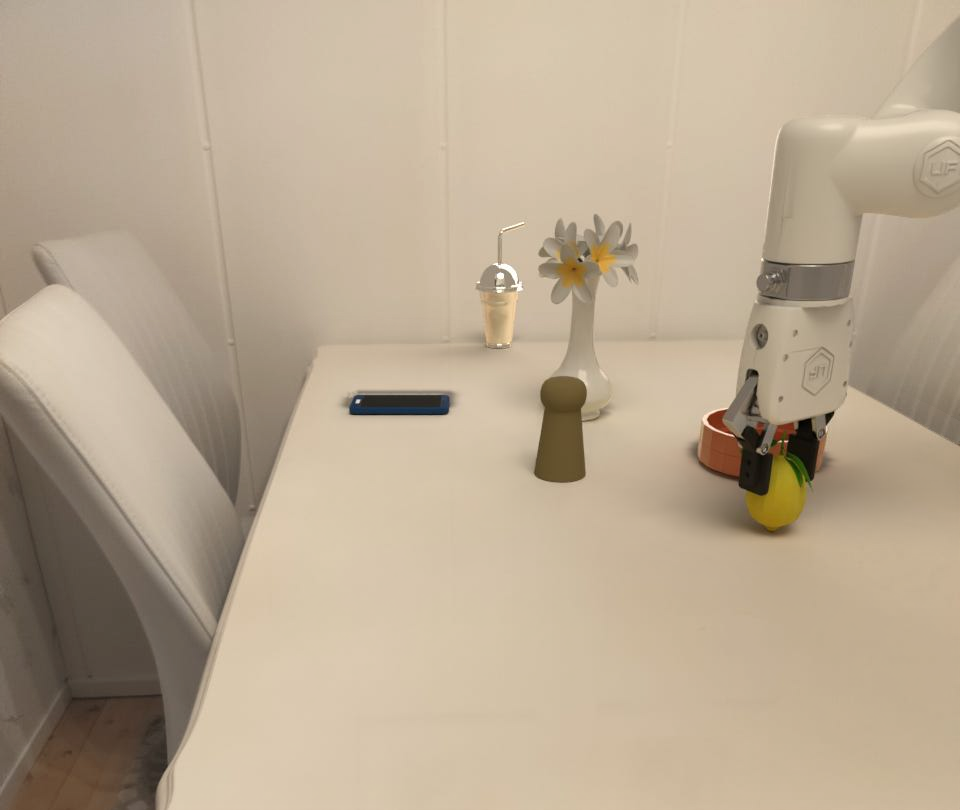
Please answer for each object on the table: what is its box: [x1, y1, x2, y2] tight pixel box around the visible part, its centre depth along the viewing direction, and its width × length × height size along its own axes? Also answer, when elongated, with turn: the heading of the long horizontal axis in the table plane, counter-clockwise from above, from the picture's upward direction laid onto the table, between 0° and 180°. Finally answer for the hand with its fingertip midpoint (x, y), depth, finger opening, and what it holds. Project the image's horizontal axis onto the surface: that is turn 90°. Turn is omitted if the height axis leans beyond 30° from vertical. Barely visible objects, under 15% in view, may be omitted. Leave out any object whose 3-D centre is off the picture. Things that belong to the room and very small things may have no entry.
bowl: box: [696, 406, 829, 478], centre depth 108 cm, size 14×14×5 cm
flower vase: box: [537, 213, 639, 422], centre depth 120 cm, size 13×18×25 cm
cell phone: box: [348, 394, 451, 415], centre depth 130 cm, size 7×14×1 cm, turn 90°
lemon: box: [739, 430, 814, 532], centre depth 87 cm, size 7×6×10 cm
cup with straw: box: [474, 222, 526, 349], centre depth 160 cm, size 8×9×20 cm
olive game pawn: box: [533, 376, 587, 483], centre depth 104 cm, size 6×6×11 cm
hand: (775, 482), depth 87 cm, fingers closed on lemon, 5 cm apart
